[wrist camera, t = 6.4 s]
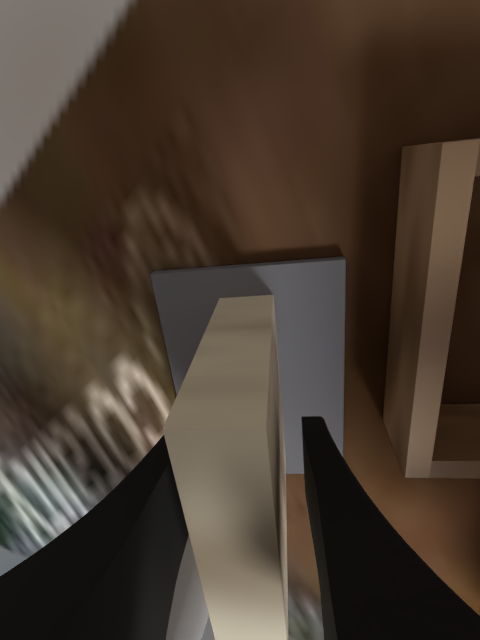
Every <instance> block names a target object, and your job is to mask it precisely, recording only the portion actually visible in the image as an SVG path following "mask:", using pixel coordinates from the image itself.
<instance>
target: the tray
mask: <svg viewBox="0 0 480 640" xmlns="http://www.w3.org/2000/svg"><path fill="white" fill-rule="evenodd" d="M475 176H480V138H471V139H463V140H454V141H445V142H437V143H428V144H420V145H411V146H403V147H402V158H401V172H400V186H399V200H398V214H397V228H396V242H395V256H394V270H393V284H392V298H391V312H390V326H389V340H388V354H387V368H386V383H385V397H384V411H383V422H384V425H385V428H386V430H387V433H388V435H389V438H390V441H391V443H392V446H393V448H394V451H395V453H396V456H397V459H398V461H399V464H400V466H401V469H402V472H403V474H404V477H405V478H478V479H480V404H440V403H441V396H442V389H443V383H444V376H445V370H446V363H447V356H448V350H449V343H450V336H451V330H452V323H453V317H454V310H455V303H456V297H457V290H458V283H459V277H460V270H461V264H462V257H463V250H464V244H465V237H466V230H467V224H468V217H469V210H470V204H471V197H472V191H473V184H474V177H475Z"/></svg>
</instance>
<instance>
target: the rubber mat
mask: <svg viewBox="0 0 480 640" xmlns="http://www.w3.org/2000/svg"><path fill="white" fill-rule="evenodd" d="M150 276H151V281H152V285H153V290H154V294H155V299H156V304H157V308H158V313H159V317H160V322H161V326H162V331H163V335H164V340H165V345H166V349H167V354H168V358H169V363H170V367H171V372H172V377H173V381H174V386H175V390H176V395H178V392H179V390H180V388H181V386H182V383H183V381H184V379H185V376H186V374H187V372H188V369H189V367H190V365H191V363H192V360H193V358H194V356H195V353H196V351H197V349H198V347H199V344H200V342H201V340H202V337H203V335H204V333H205V330H206V328H207V326H208V324H209V321H210V319H211V317H212V314H213V312H214V310H215V308H216V305H217V303H218V301H219V298H231V297H246V296H262V295H274V309H275V322H276V336H277V349H278V363H279V377H280V390H281V404H282V417H283V431H284V445H285V458H286V474H304V462H303V440H302V419H301V417H303V416H321V417H322V418H324V420H325V423H326V425H327V428H328V430H329V432H330V434H331V436H332V438H333V440H334V442H335V444H336V446H337V448H338V450H339V451H340V453H341V455H342V457H343V420H344V350H345V281H346V259H345V257H331V258H318V259H305V260H292V261H279V262H266V263H253V264H240V265H227V266H214V267H201V268H188V269H175V270H162V271H153V272H152V273H151V274H150Z"/></svg>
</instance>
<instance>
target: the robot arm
mask: <svg viewBox="0 0 480 640" xmlns="http://www.w3.org/2000/svg"><path fill="white" fill-rule="evenodd" d="M301 419H302V440H303V462H304V478H305V492H306V501H307V507H308V513H309V519H310V525H311V532H312V538H313V544H314V550H315V556H316V562H317V568H318V576H319V583H320V592H321V604H322V616H323V628H324V640H480V616H479V615H478V614H477V613H476V612H475V611H474V610H473V609H472V608H471V607H469V606H468V605H467V604H466V603H465V602H464V601H463V600H462V599H461V598H460V597H459V596H458V595H457V594H456V593H455V592H454V591H453V590H452V589H451V588H450V587H448V586H447V585H446V584H445V583H444V582H443V581H442V580H441V579H440V578H439V577H438V576H437V575H436V574H435V573H434V572H433V570H432V569H431V568H430V567H429V566H428V565H427V564H426V563H425V562H424V561H423V560H422V559H421V558H420V557H419V556H418V555H417V554H416V552H415V551H414V550H413V549H412V548H411V547H410V546H409V545H408V544H407V543H406V542H405V541H404V540H403V538H402V537H401V536H400V535H399V534H398V533H397V531H396V530H395V529H394V528H393V527H392V526H391V524H390V523H389V522H388V521H387V519H386V518H385V517H384V516H383V514H382V513H381V512H380V511H379V509H378V508H377V507H376V505H375V504H374V503H373V502H372V500H371V499H370V497H369V496H368V495H367V493H366V492H365V490H364V489H363V488H362V486H361V485H360V483H359V482H358V480H357V479H356V477H355V476H354V474H353V473H352V471H351V470H350V468H349V466H348V465H347V463H346V462H345V460H344V458H343V457H342V455H341V453H340V451H339V450H338V448H337V446H336V444H335V442H334V440H333V438H332V436H331V434H330V432H329V430H328V428H327V425H326V423H325V420H324V418H322V417H321V416H303V417H301ZM188 536H189V533H188V529H187V525H186V521H185V517H184V513H183V509H182V505H181V501H180V497H179V493H178V489H177V485H176V481H175V477H174V473H173V469H172V465H171V461H170V457H169V453H168V449H167V445H166V441H165V437H164V435H163V437H162V438H161V439H160V440H159V441H158V442H157V444H156V445H155V446H154V447H153V448H152V449H151V450H150V452H149V453H148V454H147V455H146V456H145V457H144V458H143V459H142V460H141V462H140V463H139V464H138V465H137V466H136V467H135V468H134V469H133V470H132V471H131V472H130V473H129V474H128V475H127V476H126V477H125V478H124V479H123V480H122V481H121V482H120V483H119V484H118V485H117V487H116V488H115V489H113V490H112V491H111V492H110V493H109V494H108V495H107V496H106V497H105V498H104V499H103V500H102V501H101V502H100V503H98V504H97V505H96V506H95V507H94V508H93V509H92V510H90V511H89V512H88V513H87V514H86V515H85V516H83V517H82V518H81V519H80V520H78V521H77V522H76V523H75V524H73V525H72V526H71V527H69V528H68V529H67V530H66V531H64V532H63V533H62V534H60V535H59V536H58V537H57V538H55V539H54V540H53V541H51V542H50V543H49V544H47V545H46V546H44V547H43V548H42V549H40V550H39V551H37V552H36V553H35V554H33V555H32V556H30V557H29V558H27V559H26V560H24V561H23V562H22V563H20V564H18V565H17V566H15V567H14V568H12V569H11V570H10V571H8V572H7V573H5V574H4V575H2V576H0V640H166V634H167V629H168V623H169V617H170V612H171V607H172V601H173V596H174V591H175V586H176V581H177V577H178V572H179V568H180V564H181V561H182V557H183V554H184V550H185V547H186V543H187V539H188Z"/></svg>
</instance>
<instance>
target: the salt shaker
mask: <svg viewBox="0 0 480 640" xmlns="http://www.w3.org/2000/svg"><path fill="white" fill-rule="evenodd" d="M208 616H209V612H208V608H207V604H206V600H205V596H204V592H203V588H202V584H201V580H200V577H199V573H198V569H197V565H196V561H195V557H194V553H193V549H192V545H191V541H190V537H189V536H188V539H187V543H186V547H185V550H184V554H183V557H182V561H181V564H180V568H179V572H178V577H177V581H176V586H175V591H174V596H173V601H172V607H171V612H170V617H169V623H168V629H167V634H166V640H201V639H202V636H203V632H204V629H205V626H206V623H207V620H208Z"/></svg>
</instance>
